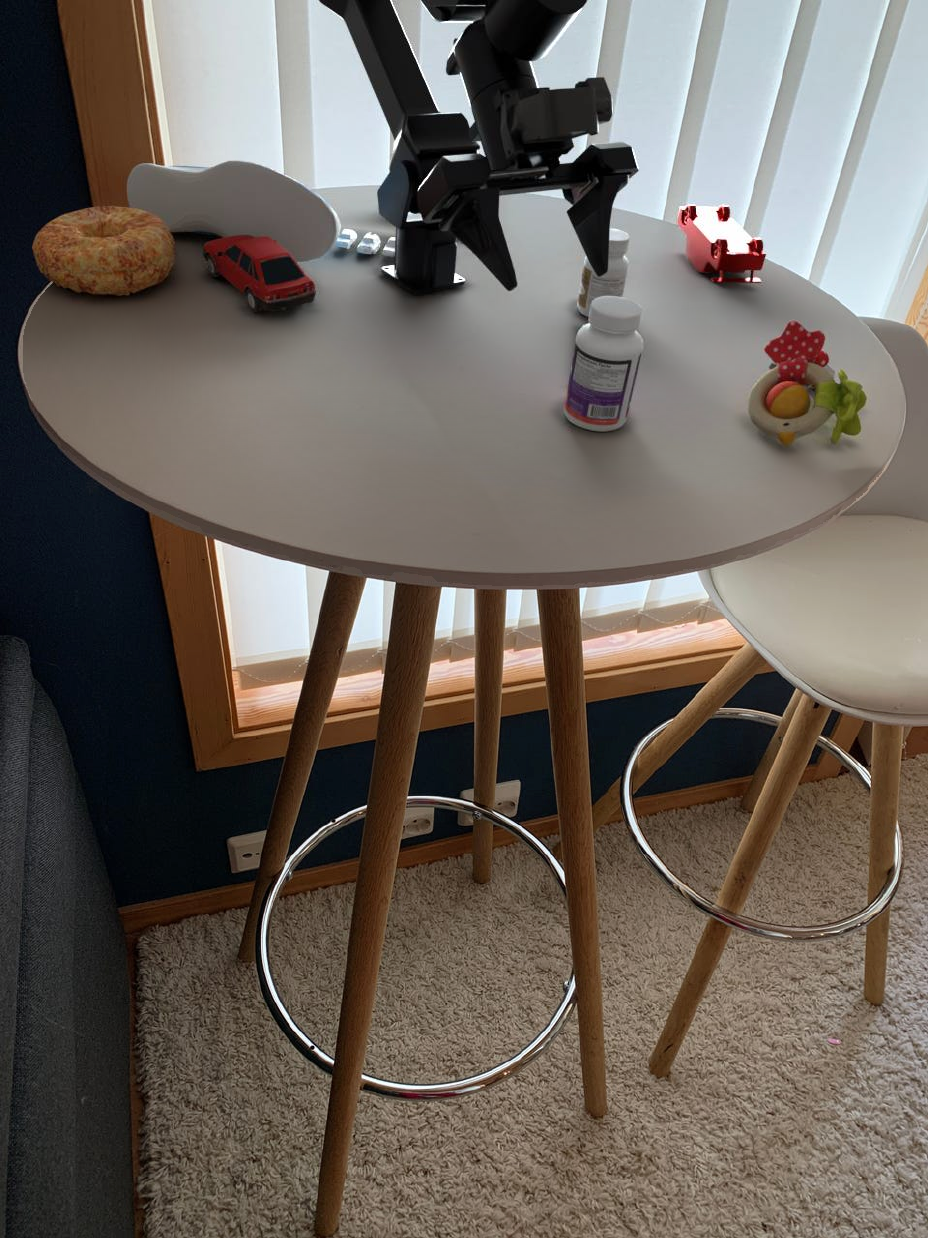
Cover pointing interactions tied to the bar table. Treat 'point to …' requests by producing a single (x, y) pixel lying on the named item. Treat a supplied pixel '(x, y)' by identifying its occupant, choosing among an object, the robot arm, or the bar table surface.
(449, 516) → the bar table surface
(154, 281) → the bagel
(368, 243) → the toy vehicle set
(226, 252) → the toy car
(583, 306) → the pill bottle
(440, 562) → the bar table surface
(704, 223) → the toy car
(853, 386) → the bird rattle
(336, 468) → the bar table surface
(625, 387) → the pill bottle
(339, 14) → the robot arm
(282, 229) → the shoe
